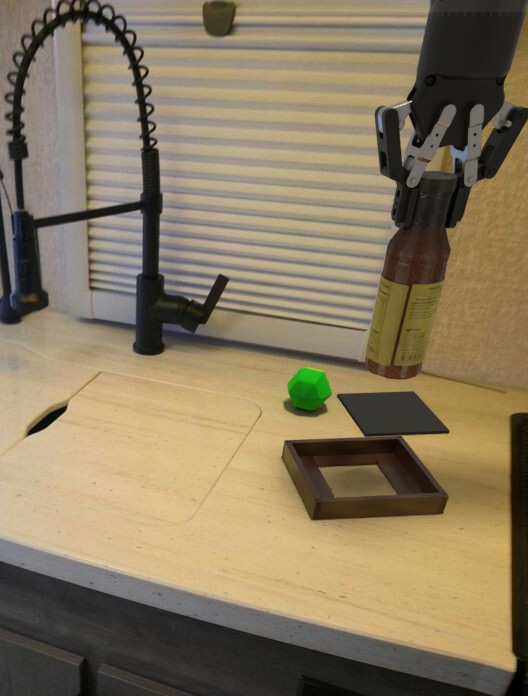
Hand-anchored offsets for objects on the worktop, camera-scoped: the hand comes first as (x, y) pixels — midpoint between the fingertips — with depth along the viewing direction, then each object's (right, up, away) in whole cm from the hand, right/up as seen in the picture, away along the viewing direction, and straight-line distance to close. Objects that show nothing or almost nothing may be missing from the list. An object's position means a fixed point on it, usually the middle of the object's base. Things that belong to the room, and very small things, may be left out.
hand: (424, 226), depth 65 cm
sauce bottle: (0, -12, +9) cm, 15 cm away
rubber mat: (+8, -14, +31) cm, 35 cm away
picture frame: (-1, -25, +17) cm, 30 cm away
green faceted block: (-3, -12, +33) cm, 36 cm away
